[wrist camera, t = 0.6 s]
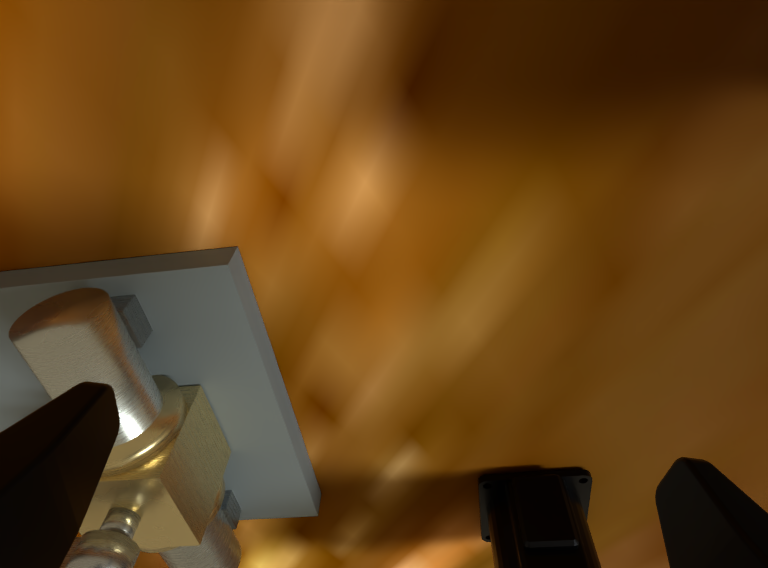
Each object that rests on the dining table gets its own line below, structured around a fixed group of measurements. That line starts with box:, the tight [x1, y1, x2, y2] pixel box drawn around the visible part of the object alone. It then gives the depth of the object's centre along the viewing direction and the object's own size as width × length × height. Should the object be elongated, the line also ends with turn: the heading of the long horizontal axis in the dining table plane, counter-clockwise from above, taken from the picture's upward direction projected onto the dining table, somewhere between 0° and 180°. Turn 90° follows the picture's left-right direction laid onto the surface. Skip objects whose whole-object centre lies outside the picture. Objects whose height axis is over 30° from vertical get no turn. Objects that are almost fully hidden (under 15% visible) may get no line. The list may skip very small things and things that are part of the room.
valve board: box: [0, 247, 321, 520], centre depth 28 cm, size 18×16×2 cm
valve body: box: [9, 288, 241, 568], centre depth 24 cm, size 18×5×6 cm, turn 8°
